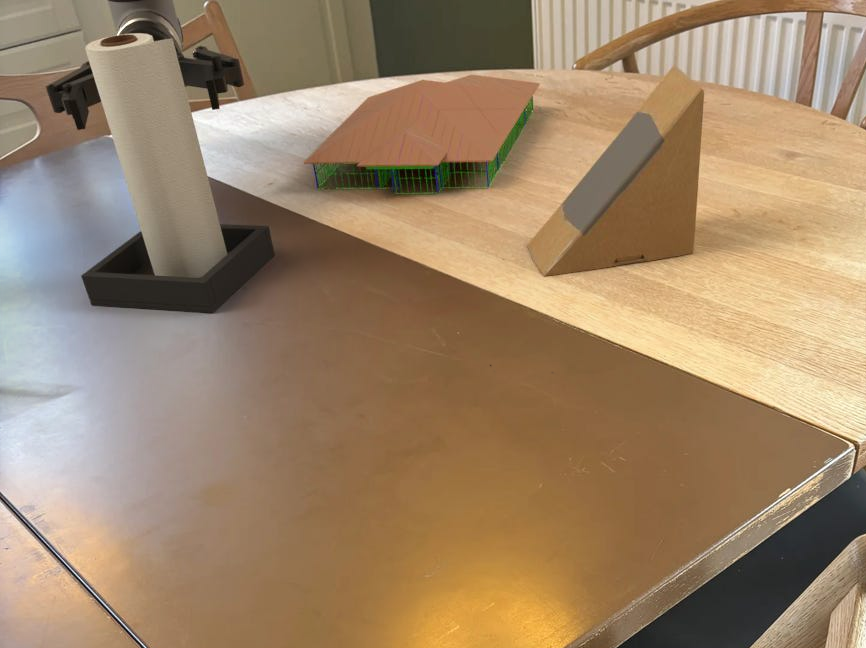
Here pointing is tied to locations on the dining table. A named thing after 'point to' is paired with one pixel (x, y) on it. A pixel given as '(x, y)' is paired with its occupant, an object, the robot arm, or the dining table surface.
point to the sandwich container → (633, 190)
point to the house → (429, 129)
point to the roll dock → (139, 287)
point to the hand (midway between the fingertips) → (145, 105)
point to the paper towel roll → (158, 152)
